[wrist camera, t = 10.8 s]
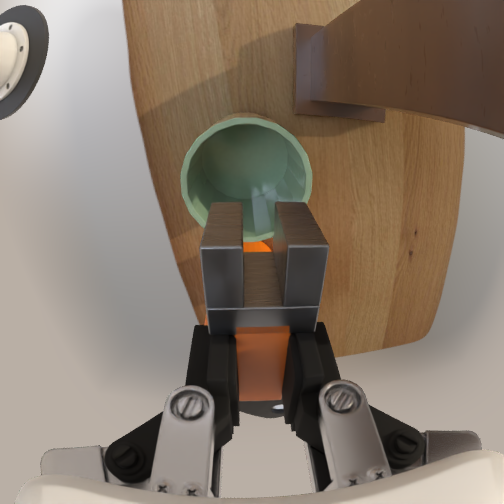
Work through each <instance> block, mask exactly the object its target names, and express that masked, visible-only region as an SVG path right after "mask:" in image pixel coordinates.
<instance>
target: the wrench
mask: <svg viewBox="0 0 504 504" xmlns="http://www.w3.org/2000/svg"><path fill="white" fill-rule="evenodd" d="M199 249H200V259H201V269H202V279H203V288H204V297H205V305H206V314H207V322H208V329H209V334H210V335H234V337H235V338H236V347H237V365H238V382H239V401H265V400H281V399H282V386H283V379H284V371H285V364H286V356H287V348H288V340H289V336H290V335H291V333H303V332H315V329H316V324H317V318H318V313H319V308H320V306H319V305H320V302H321V297H322V291H323V285H324V279H325V272H326V266H327V259H328V252H329V244H328V242H327V241H326V239H325V237H324V235H323V233H322V231H321V230H320V228H319V226H318V224H317V222H316V221H315V219H314V217H313V215H312V213H311V212H310V210H309V208H308V206H307V205H306V203H305V202H275V209H274V236H273V252H243V203H242V202H216V203H212V204H211V207H210V210H209V214H208V218H207V221H206V225H205V229H204V233H203V236H202V240H201V244H200V248H199Z"/></svg>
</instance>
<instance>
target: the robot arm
mask: <svg viewBox="0 0 504 504" xmlns="http://www.w3.org/2000/svg"><path fill="white" fill-rule="evenodd" d="M28 51H29V38H28V34H27V31H26V30H25V28H24V27H23V26H22V25H21V24H18V23H14V22H10V23H5V24H3V25H1V26H0V101H1V100H3V99H4V98H5V97H7V96H8V95H9V94H10V93H11V92H12V90H13V89H14V88H15V86H16V85H17V83H18V81H19V79H20V78H21V75H22V73H23V71H24V68H25V65H26V62H27V57H28ZM282 401H283V409H284V418H285V423H286V424H291V430H292V431H296V436H298V437H299V438H300V439H302V440H303V441H304V447H305V452H306V458H307V464H308V469H309V475H310V481H311V486H312V492H313V493H309V494H301V495H291V496H280V497H264V498H221V478H222V459H223V446H224V445H225V444H226V443H227V442H229V441H230V440H231V439H232V434H233V426H239V382H238V365H237V347H236V338H235V337H234V335H210V334H209V329H208V325H195V327H194V332H193V338H192V345H191V351H190V357H189V364H188V370H187V377H186V385H185V386H182V387H179V388H177V389H175V390H174V391H173V392H171V393H170V395H169V396H168V397H167V399H166V402H165V406H164V411H163V412H161V413H160V414H158V415H157V416H155V417H153V418H152V419H150V420H149V421H147V422H146V423H144V424H142V425H141V426H139V427H138V428H136V429H134V430H133V431H131V432H130V433H128V434H126V435H125V436H123V437H122V438H120V439H118V440H116V441H115V442H113V443H112V444H111V445H110V446H109V447H101V446H100V445H99V446H90V447H89V446H88V447H77V448H61V449H51V450H48V451H47V452H45V453H44V455H43V456H42V458H41V476H37V477H34V478H31V479H29V480H28V481H27V482H26V483H25V484H24V485H23V486H22V488H21V489H20V491H19V493H18V495H17V498H16V501H15V503H14V504H504V455H503V454H501V453H499V452H496V451H491V450H482V447H481V441H480V438H479V437H478V435H477V434H476V433H474V432H472V431H425V432H424V433H420V432H419V431H418V430H416V429H415V428H413V427H411V426H409V425H407V424H405V423H403V422H401V421H399V420H397V419H395V418H393V417H391V416H389V415H387V414H385V413H384V412H382V411H380V410H378V409H376V408H374V407H372V406H370V405H369V404H368V402H367V399H366V396H365V394H364V392H363V390H362V388H360V387H359V386H358V385H357V384H355V383H353V382H351V381H348V380H341V378H340V374H339V371H338V367H337V364H336V360H335V357H334V354H333V350H332V347H331V344H330V341H329V337H328V334H327V331H326V328H325V325H324V323H323V322H317V324H316V329H315V332H303V333H291V335H290V336H289V340H288V348H287V356H286V364H285V371H284V379H283V386H282Z"/></svg>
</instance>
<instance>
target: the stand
mask: <svg viewBox="0 0 504 504" xmlns="http://www.w3.org/2000/svg"><path fill="white" fill-rule="evenodd" d="M293 45H294V54H293V113H295V114H307V115H321V116H333V117H343V118H352V119H360V120H368V121H375V122H382V123H384V122H385V110H391V111H397V112H402V113H408V114H413V115H418V116H423V117H427V118H432V119H436V120H441V121H445V122H449V123H453V124H456V125H460V126H464V127H467V128H471V129H474V130H478V131H481V132H484V133H487V134H490V135H493V136H496V137H500V138H502V139H504V0H360V1H359V2H357V3H356V4H355V5H353V6H352V7H350V8H349V9H347V10H346V11H345V12H343V13H342V14H341V15H339V16H338V17H337V18H335V19H334V20H333V21H331V22H330V23H329V24H327V25H326V26H318V25H309V24H299V23H296V24H295V25H294V27H293Z"/></svg>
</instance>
